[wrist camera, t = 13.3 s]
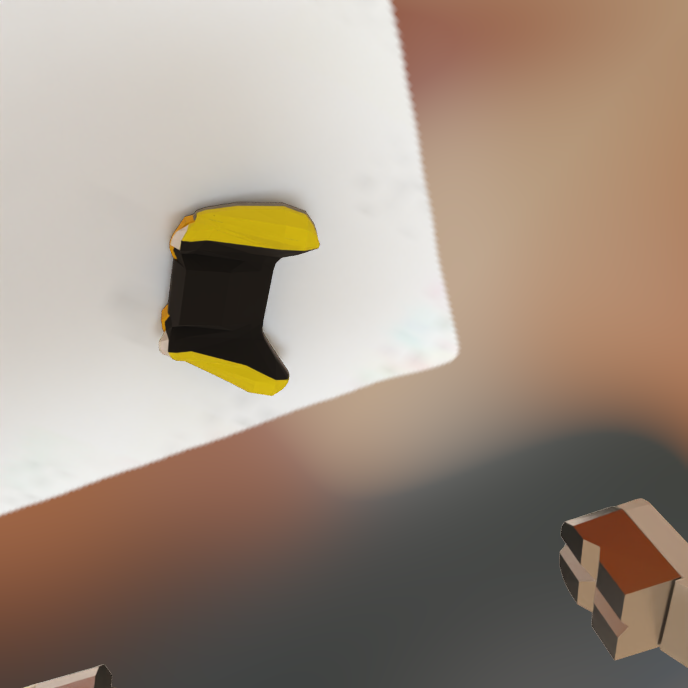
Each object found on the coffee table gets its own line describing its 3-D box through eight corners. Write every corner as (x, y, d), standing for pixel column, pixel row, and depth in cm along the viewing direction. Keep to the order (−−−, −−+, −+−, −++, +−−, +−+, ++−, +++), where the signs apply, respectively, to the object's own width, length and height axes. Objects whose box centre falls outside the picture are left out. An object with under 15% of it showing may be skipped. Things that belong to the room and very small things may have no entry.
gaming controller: (313, 199, 45) (176, 175, 42) (330, 222, 41) (176, 197, 37) (276, 369, 52) (155, 359, 49) (287, 406, 47) (153, 398, 44)
